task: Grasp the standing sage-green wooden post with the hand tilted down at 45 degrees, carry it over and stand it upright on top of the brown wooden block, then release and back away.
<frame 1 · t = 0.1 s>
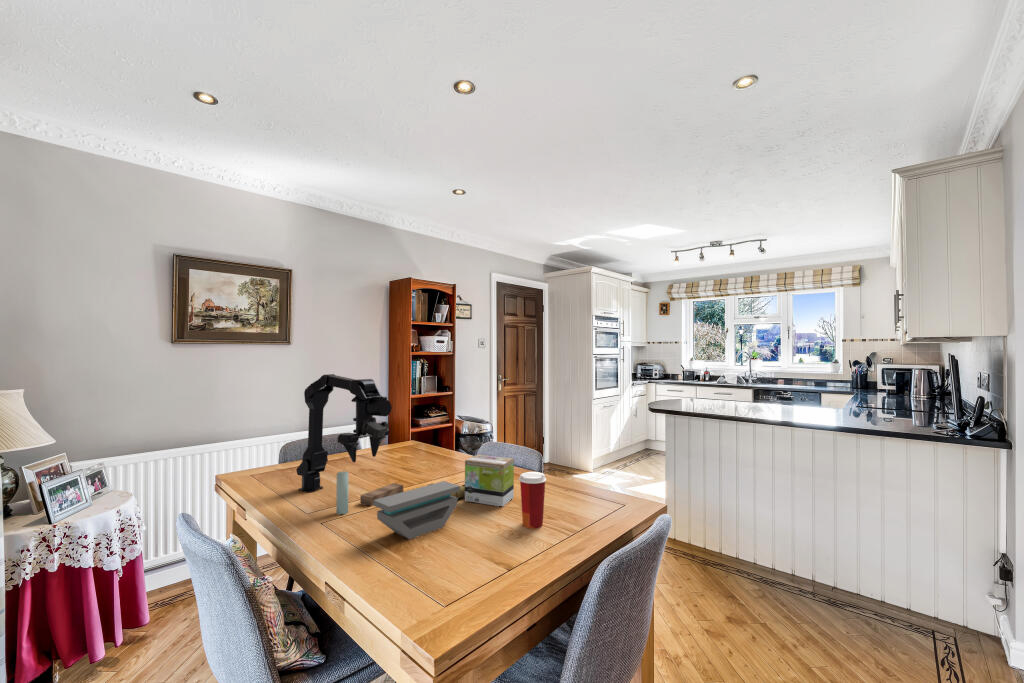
hand: (364, 459, 157), 15 cm above the table, tool pointing down, fingers open, 9 cm apart
brown wooden block: (382, 498, 159), on the table
gavel: (444, 494, 165), on the table
tea box: (489, 501, 157), on the table
coffee cup: (532, 525, 134), on the table
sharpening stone: (418, 530, 131), on the table
post: (342, 513, 145), on the table
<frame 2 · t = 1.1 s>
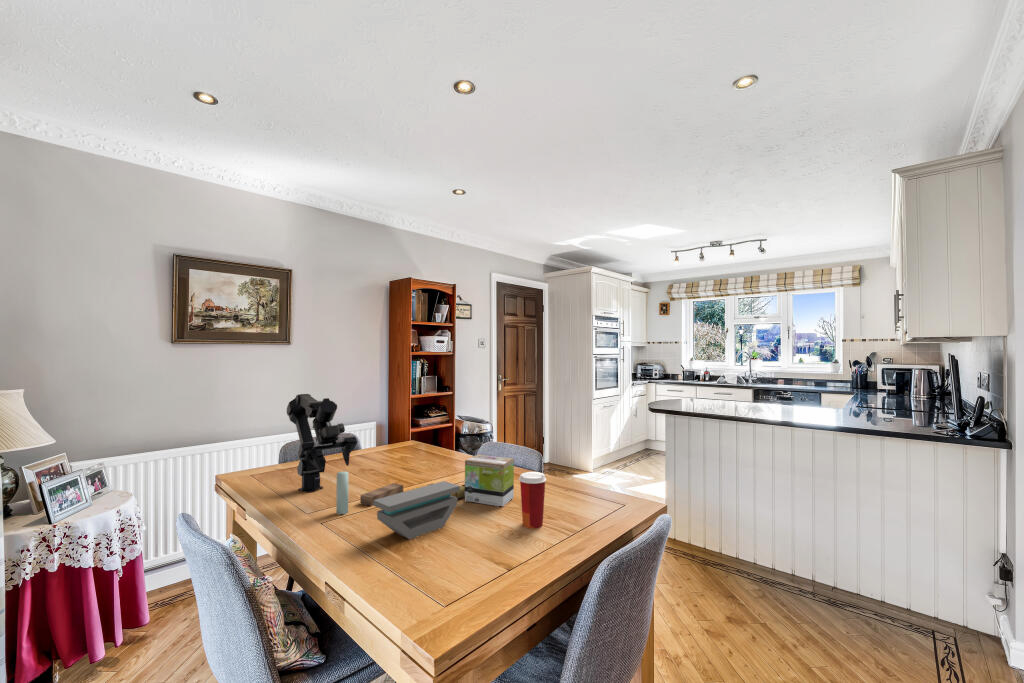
hand: (334, 467, 151), 13 cm above the table, tool tilted 45°, fingers open, 9 cm apart
nothing on the table moved.
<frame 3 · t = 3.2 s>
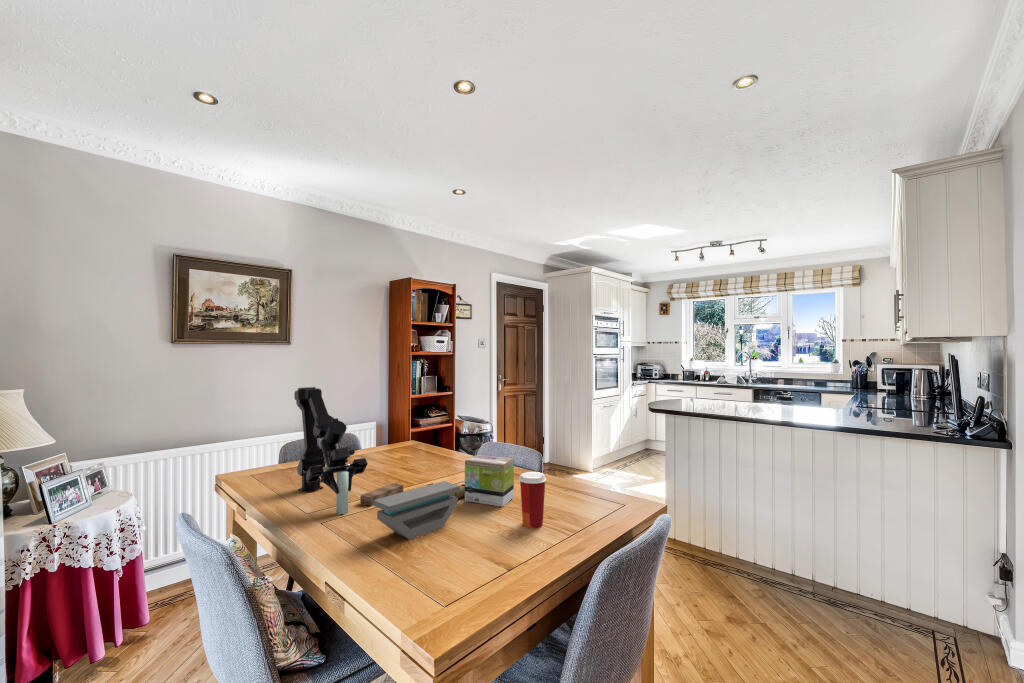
hand: (344, 492, 144), 7 cm above the table, tool tilted 45°, fingers closed on post, 4 cm apart
post: (342, 513, 145), on the table, touching gripper
everything else where it was.
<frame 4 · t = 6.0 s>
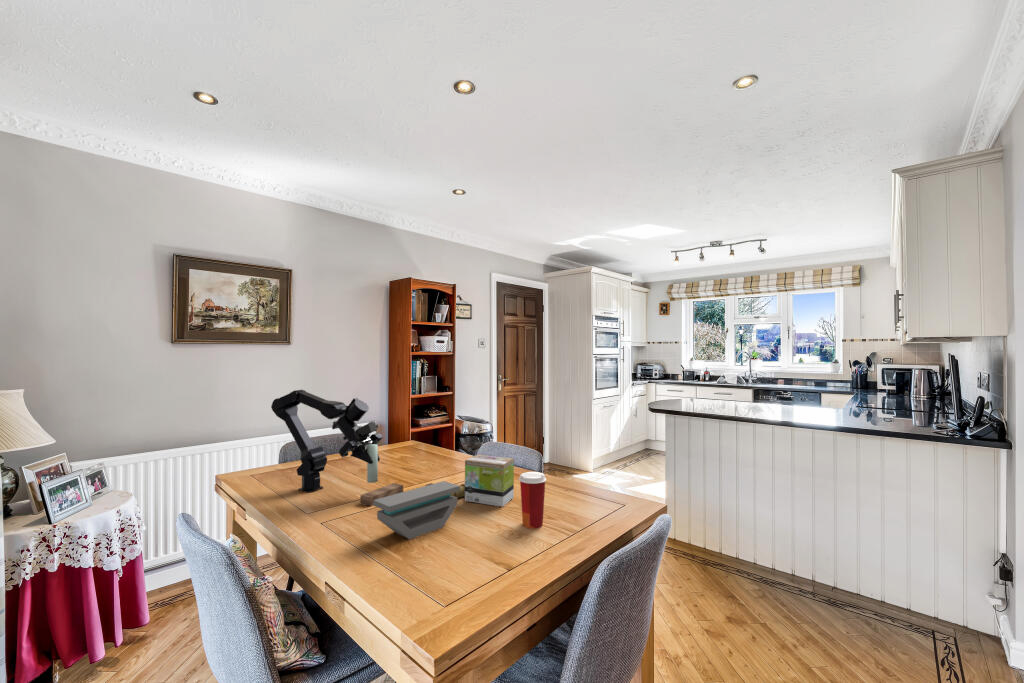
hand: (375, 461, 160), 13 cm above the table, tool tilted 45°, fingers closed on post, 4 cm apart
post: (372, 481, 161), point 6 cm above the table, touching gripper
everything else where it was.
when the fingers open (11 cm above the table, at t = 7.1 s): post drops 1 cm, resting on brown wooden block.
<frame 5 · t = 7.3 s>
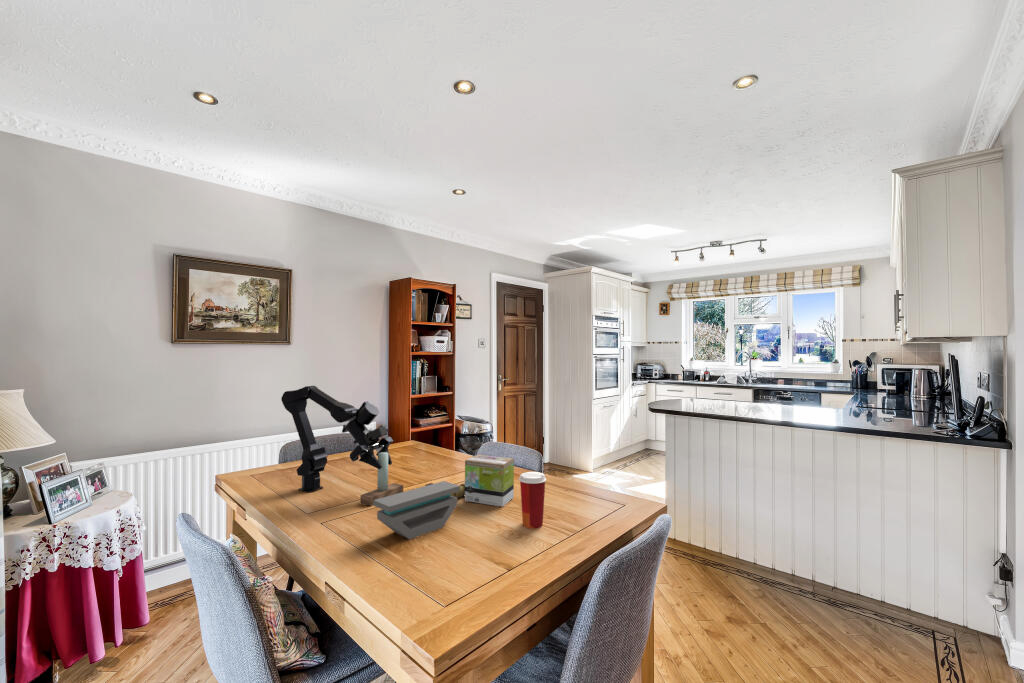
hand: (386, 466, 159), 12 cm above the table, tool tilted 45°, fingers open, 6 cm apart
post: (382, 489, 159), point 3 cm above the table, touching brown wooden block
everything else where it was.
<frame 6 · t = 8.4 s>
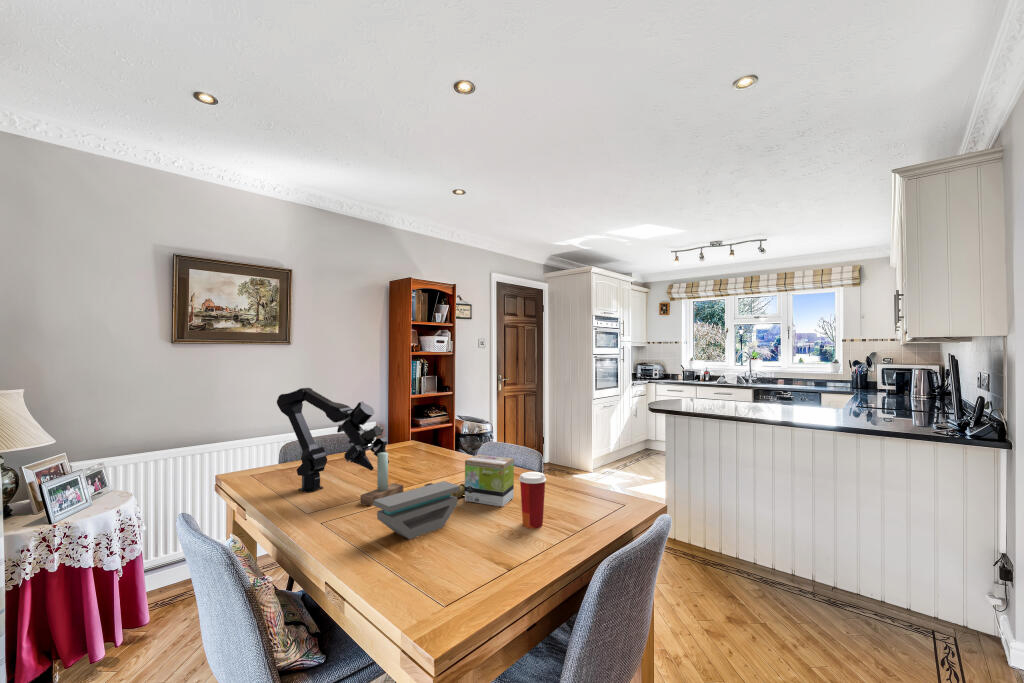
hand: (380, 466, 160), 11 cm above the table, tool tilted 45°, fingers open, 9 cm apart
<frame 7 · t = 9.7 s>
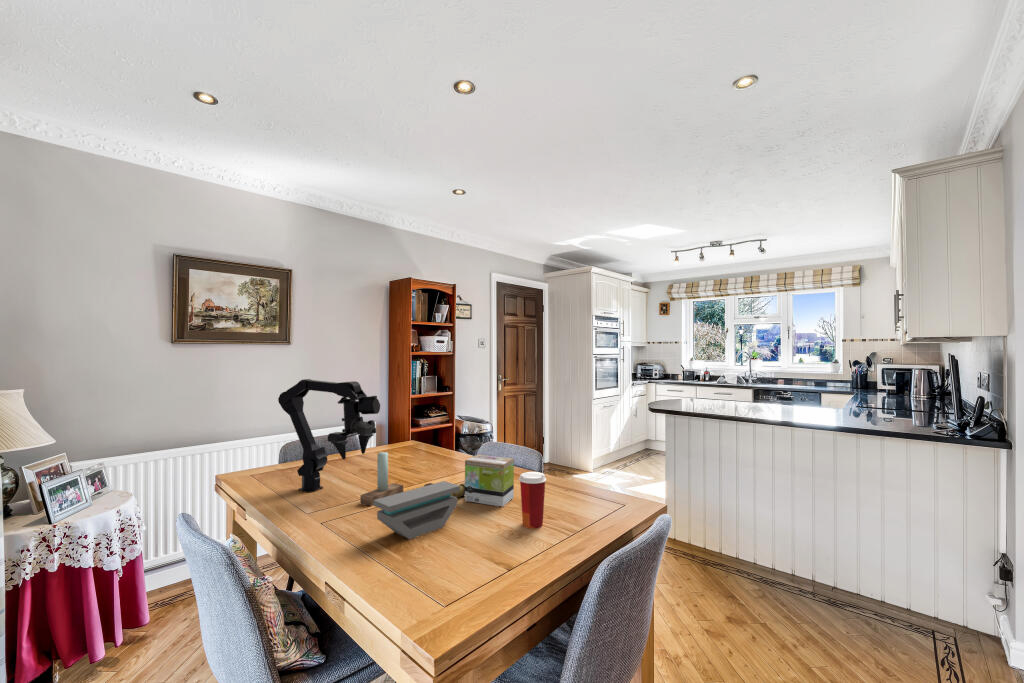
hand: (353, 456, 167), 13 cm above the table, tool pointing down, fingers open, 9 cm apart
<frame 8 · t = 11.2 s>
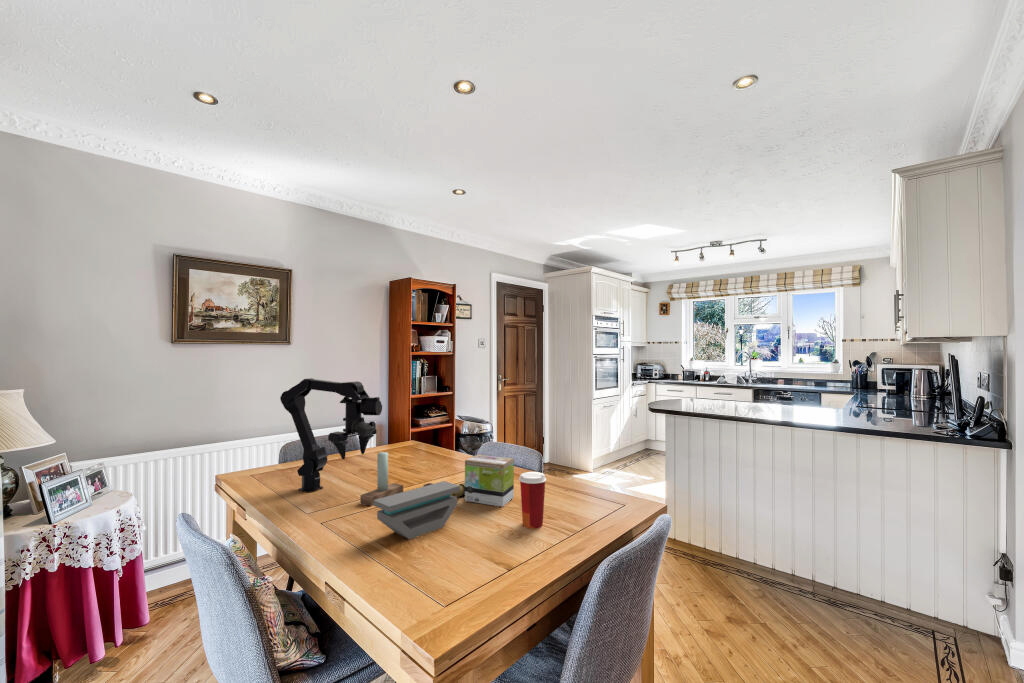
hand: (353, 456, 168), 13 cm above the table, tool pointing down, fingers open, 9 cm apart
at the end: post inside the target area on the brown wooden block (0.0 cm from its centre), point 3.0 cm above the brown wooden block's base; post tilted 0°; the gripper is holding nothing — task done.
